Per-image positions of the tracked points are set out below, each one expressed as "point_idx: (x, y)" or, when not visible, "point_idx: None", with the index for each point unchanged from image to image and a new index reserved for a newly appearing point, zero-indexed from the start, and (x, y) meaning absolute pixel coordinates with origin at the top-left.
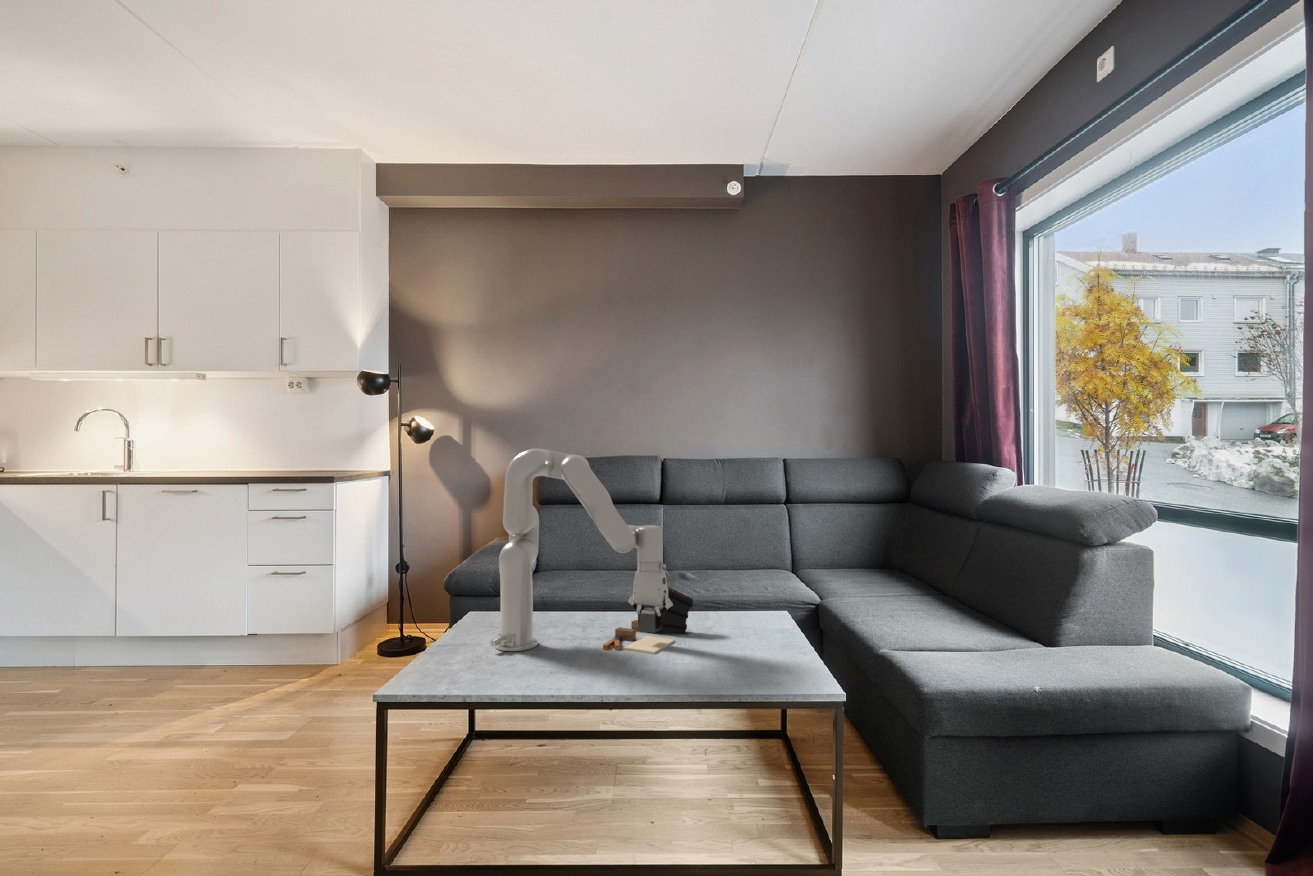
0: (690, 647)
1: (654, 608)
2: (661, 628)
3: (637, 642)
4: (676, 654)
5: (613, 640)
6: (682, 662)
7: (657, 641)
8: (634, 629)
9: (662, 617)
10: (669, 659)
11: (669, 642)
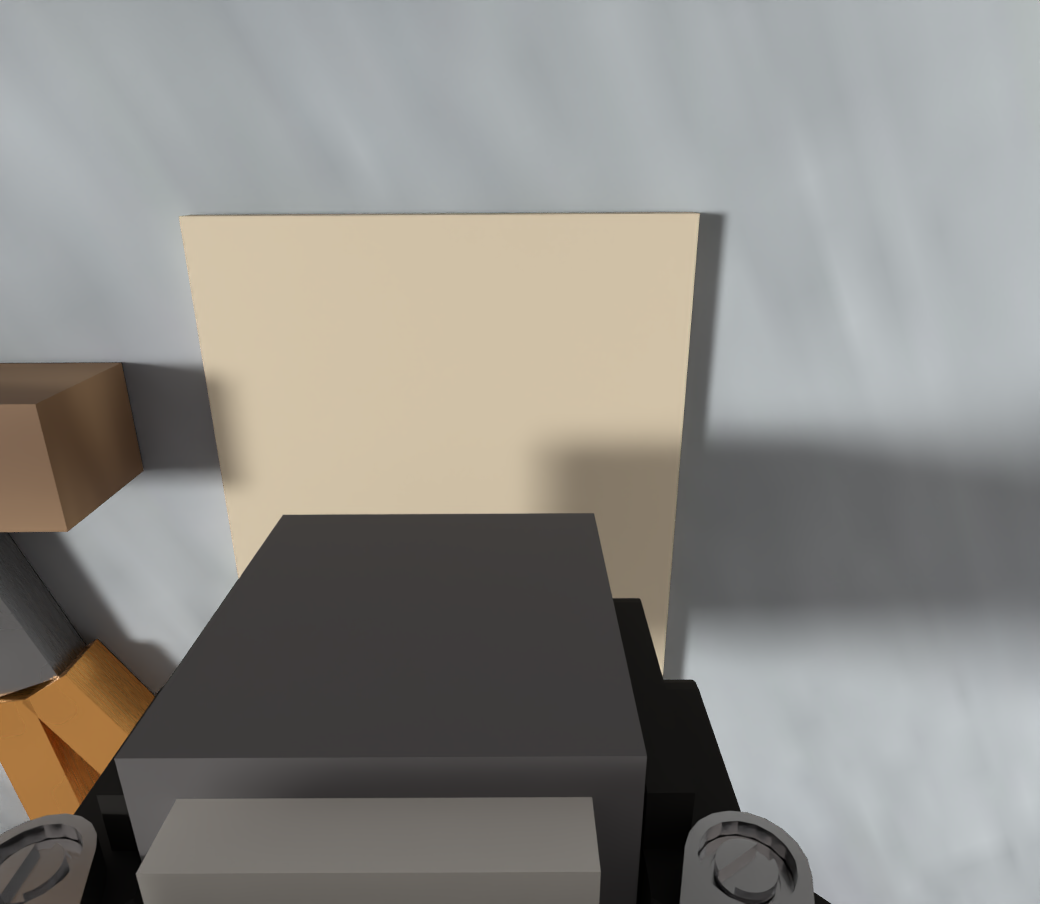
0: (987, 367)
1: (422, 889)
2: (593, 522)
3: None
4: (883, 672)
5: (33, 726)
6: (1006, 838)
7: (500, 419)
8: (12, 411)
9: (730, 810)
10: (858, 819)
11: (678, 388)
